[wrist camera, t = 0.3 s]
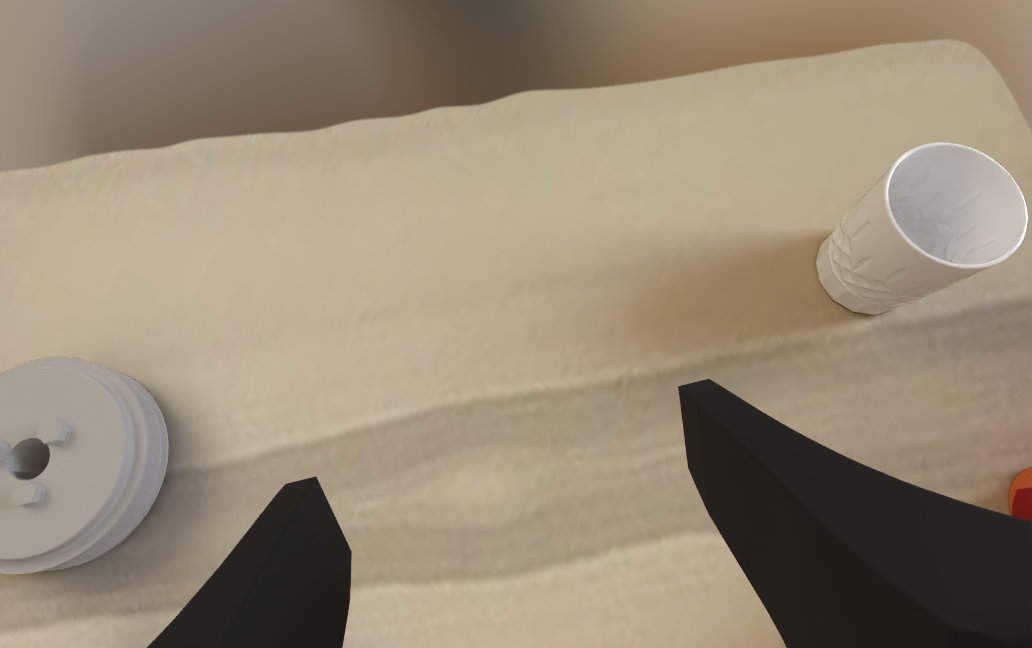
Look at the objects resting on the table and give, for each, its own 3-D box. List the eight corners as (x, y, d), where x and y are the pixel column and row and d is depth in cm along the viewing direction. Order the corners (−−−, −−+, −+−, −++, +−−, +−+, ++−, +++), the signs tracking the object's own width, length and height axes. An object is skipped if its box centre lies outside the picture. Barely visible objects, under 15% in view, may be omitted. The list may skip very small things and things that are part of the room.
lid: (54, 615, 38) (-11, 629, 34) (-62, 472, 41) (-139, 466, 36) (216, 457, 41) (176, 449, 36) (97, 332, 44) (46, 309, 39)
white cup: (787, 283, 45) (860, 219, 35) (837, 201, 47) (919, 118, 37) (890, 345, 43) (996, 295, 34) (937, 257, 45) (1049, 187, 36)
